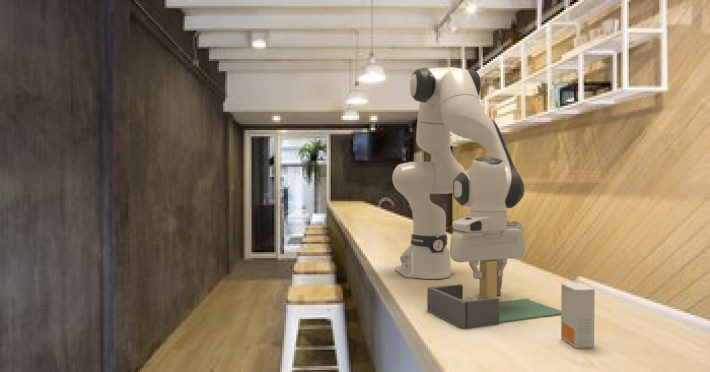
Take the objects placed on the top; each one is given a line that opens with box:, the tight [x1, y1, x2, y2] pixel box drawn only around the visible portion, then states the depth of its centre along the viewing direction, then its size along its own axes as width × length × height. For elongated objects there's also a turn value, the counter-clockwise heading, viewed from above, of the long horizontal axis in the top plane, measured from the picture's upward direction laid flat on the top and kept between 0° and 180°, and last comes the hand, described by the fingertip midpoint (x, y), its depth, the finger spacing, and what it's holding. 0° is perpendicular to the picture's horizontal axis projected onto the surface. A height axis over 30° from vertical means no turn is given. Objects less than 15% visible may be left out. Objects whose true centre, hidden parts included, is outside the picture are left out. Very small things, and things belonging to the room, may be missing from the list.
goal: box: [426, 283, 500, 330], centre depth 124 cm, size 16×10×6 cm, turn 21°
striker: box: [477, 260, 498, 300], centre depth 126 cm, size 6×3×13 cm, turn 21°
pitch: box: [426, 298, 561, 329], centre depth 128 cm, size 15×31×1 cm, turn 111°
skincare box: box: [560, 282, 596, 349], centre depth 105 cm, size 6×4×12 cm
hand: (488, 277), depth 126 cm, fingers open, 5 cm apart
